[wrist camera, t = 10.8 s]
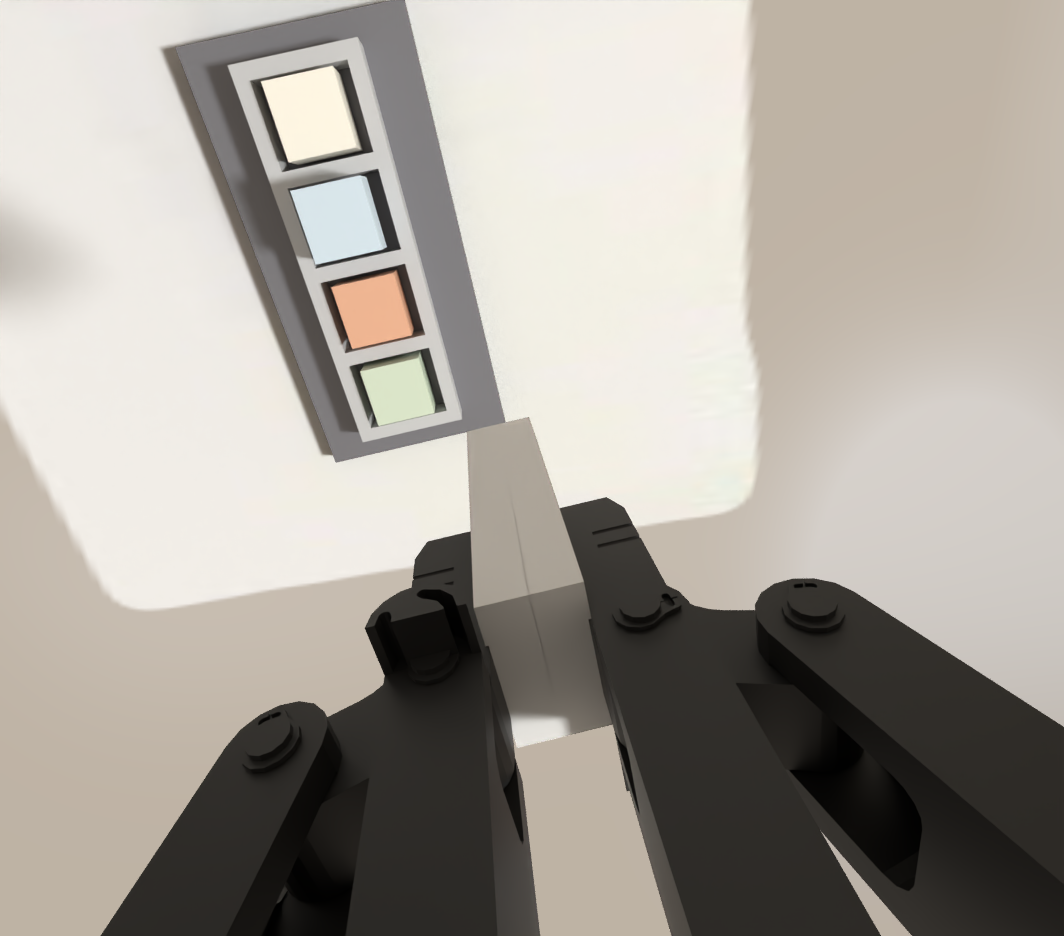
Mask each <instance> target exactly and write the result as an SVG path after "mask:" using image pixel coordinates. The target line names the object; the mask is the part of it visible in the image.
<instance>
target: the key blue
mask: <svg viewBox="0 0 1064 936" xmlns="http://www.w3.org/2000/svg"><path fill="white" fill-rule="evenodd" d="M290 192H291V195H292V197H293V200H294V203H295V206H296V209H297V212H298V215H299V218H300V221H301V223H302V226H303V229H304V232H305V235H306V238H307V241H308V244H309V246H310V249H311V252H312V255H313V258H314V261H315V264H316V265H317V264H321V263H326V262H330V261H334V260H339V259H343V258H348V257H352V256H356V255H361V254H365V253H370V252H374V251H379V250H383V249H384V248H386V247H387V246H386V242H385V239H384V235H383V232H382V228H381V225H380V222H379V218H378V215H377V211H376V208H375V205H374V201H373V198H372V194H371V191H370V187H369V184H368V181H367V177H364V176H361V175H359V176H355V177H350V178H346V179H341V180H337V181H332V182H328V183H324V184H319V185H315V186H310V187H306V188H301V189H297V190H292V191H290Z"/></svg>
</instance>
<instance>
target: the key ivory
mask: <svg viewBox="0 0 1064 936" xmlns="http://www.w3.org/2000/svg"><path fill="white" fill-rule="evenodd" d="M261 83H262V86H263V89H264V92H265V95H266V98H267V101H268V104H269V107H270V110H271V112H272V115H273V118H274V121H275V124H276V127H277V130H278V133H279V136H280V139H281V142H282V145H283V148H284V150H285V153H286V156H287V159H288V162H289V163H293V164H297V165H301V164H305V163H310V162H314V161H319V160H323V159H328V158H332V157H337V156H341V155H346V154H350V153H355V152H359V151H363V150H362V147H361V143H360V140H359V136H358V133H357V129H356V126H355V122H354V119H353V116H352V112H351V109H350V105H349V102H348V98H347V95H346V91H345V88H344V85H343V81H342V78H341V75H340V73H339V72H338V71H337V70H336V69H335V68H334V67H333V66H329V67H325V68H320V69H315V70H311V71H306V72H302V73H297V74H293V75H288V76H284V77H279V78H275V79H270V80H265V81H261Z"/></svg>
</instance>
